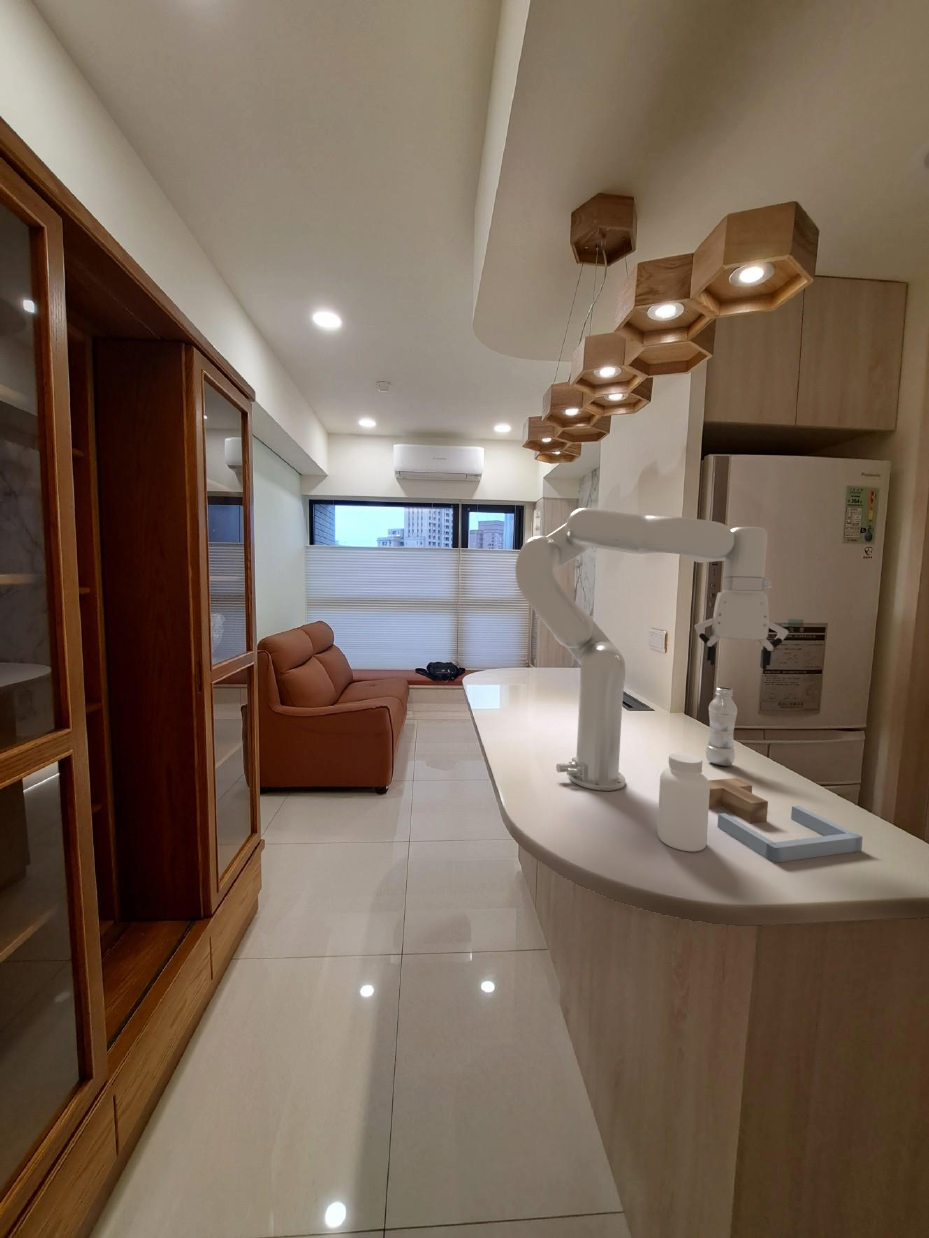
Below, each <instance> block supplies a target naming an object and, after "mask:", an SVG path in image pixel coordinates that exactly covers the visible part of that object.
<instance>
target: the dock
mask: <svg viewBox="0 0 929 1238" xmlns="http://www.w3.org/2000/svg"><path fill="white" fill-rule="evenodd" d="M790 813H791V814H790V819H791V820H792V821H795V822H797V823H799V824H801V825H802V826H805V827H807V828H808V829H810V830H812V831H815V832H816V833H818V834H820V835H822V836H816V837H815V836H814V837H807V838H798V839H797V838H796V839H791V840H784V841H783V840H782V841H775V842H774V841H773V840H770V839H769V838H768V837H766V836H764V835H762V834H761V833H759V832H757V831H755V830H754V829H752V828H751V827H749V826H747V825H746V824H745V823H742V822H741V821H739V820H737V819H735V818H734V817H732V816H731V815H729V814H727V813H726V812H725V813H718V814H717V815H718V816H717V826H716V827H717V828H718V829H720V830H722V831H723V832H725V833H726V834H728V835H729V836H731V837H733V838H734V839H736V840H737V841H739V842H741V843H742V844H744V845H746V846H747V847H748V848H750V849H751V850H753V851H754V852H757V853H758V854H759V855H760V856H762V857H764V858H765V859H767V860H768V861H770V862H771V863H773V864H777V863H784V862H791V861H797V860H798V861H799V860H805V859H813V858H818V857H819V858H820V857H827V856H834V855H841V854H847V853H854V852H862V849H863V846H862V845H863V836H862V835H859V834H858V833H855V832H854V831H852V830H850V829H847V828H845V827H844V826H841V825H839V824H836V823H835V822H832V821H830V820H829V819H827V818H825V817H823V816H821V815H818V814H816V813H814V812H812V811H810V810H807V809H806V808H804V807H801V806H799V805H793V806H791V812H790Z"/></svg>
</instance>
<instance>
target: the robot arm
mask: <svg viewBox="0 0 929 1238" xmlns="http://www.w3.org/2000/svg"><path fill="white" fill-rule="evenodd" d="M767 546H768V531H767V530H766V529H765V528H763V527H760V526H739V527H733V528H730V527H729V526H727V524H724V523H722V522H719V521H712V520H707V519H706V520H705V519H699V518H698V519H697V518H691V517H684V516H683V517H681V516H663V515H651V514H650V515H649V514H638V513H631V512H630V513H629V512H623V511H622V512H621V511H614V510H608V509H599V508H591V507H582V508H581V507H580V508H577V509H575V510H574V511H573V512H571V513H570V515H568V517H567V520H566V522H565V523H564V524H563V525H562V526H560V527H559V528H557V529H556V530H554V531H553V532H551V533H550V534H548V535H547V536H546V535H536V536H532V537H530V538H528V539H527V540H526V541H525V542H524V543H523V545H522V546H521V548H520V550H519V552H518V556H517V558H516V563H515V579H516V584H517V587H518V589H519V591H520V593H521V595H522V597H523V598H524V599H525V601H526V602H527V604H528V605H529V606H530V607H531V608H532V610H533V611H534V613H535V614H536V615H537V616H538V617H539V618H538V619H540V620H541V622H542V623H543V624H544V625H545V627H546V628H547V629H548V631H550V633H551V635H552V636H553V638H554V639H555V640H556V641H557V643H558V644H560V645H561V646H562V647H565V648H566V650H568V652H569V653H570V654H571V655H572V657H573V658H574V659H575V661H577V662H578V664H579V665H580V671H579V672H580V673H579V674H580V677H579V695H578V717H577V719H578V721H577V722H578V723H577V740H576V741H577V742H576V756H575V757H572V758H571V761H569V762H568V763H563V762H562V763H557V764H556V767H555V768H556V769H555V770H556V771H557V773H566V775H567V776H568V777H569V779H570V781H571V782H573V783H574V784H576V785H578V786H581V787H583V788H586V789H591V790H595V791H604V792H605V791H607V792H610V791H616V790H620V789H623V788H624V786H625V785H626V778H625V776H624V775H623V774H622V773H621V772H620V771H619V770H620V752H621V733H622V714H623V713H622V712H623V700H624V688H625V681H626V663H625V659H624V656H623V655H622V653H621V651H620V650H619V649H618V647H617V646H616V645H615V644H614V643H613V642H612V641H611V639H609V637H608V636H607V635H606V634H605V632H603V630H602V629H601V628H600V627H599V626H598V624H597V623H596V621H594V619H593V618H592V617H591V616H590V614H589V613H588V612H587V611H586V610H584V609H583V608H581V607H580V606H579V604H577V603H576V602H575V601H574V599H573V598H572V597H571V596H570V595H569V594H568V593H567V591H566V590H565V588H564V587H563V586H562V584H561V583H559V581H558V580H557V578H556V577H555V573H554V572H555V571H557V570H558V569H560V568H561V567H563V566H564V565H566V564H567V563H569V562H571V561H573V560H574V559H576V558H577V557H579V556H580V555H581V554H584V553H585V552H586V551H588V550H589V549H590V548H596V549H602V550H610V551H616V552H623V553H628V554H638V555H643V554H644V555H645V554H652V553H653V554H655V553H660V554H661V553H663V554H664V553H665V554H675V555H682V556H683V555H684V556H686V557H687V558H689V559H690V560H691V561H693V562H696V563H703V564H704V563H711V562H712V563H713V562H723V573H722V574H723V576H722V577H723V578H722V589H721V591H720V592H717V595H716V597H715V598H716V599H715V603H714V607H713V616H712V618H709V619H706V620H704V621H702V622H700V623H699V622H698V623H697V624H695V625H694V629H695V631H696V634H697V635H698V637H699V639H700V640H701V641H702V642H703V643H704V644H705V645H706V661H708V662H709V666H714V665H715V659H716V647H715V644H716V643H717V642H718V641H719V640H720V639H725V640H736V641H737V640H739V641H752V642H753V641H755V642H759V643H760V644H761V646H762V649H761V651H760V663H759V667H760V668H761V669H762V670H763V671H764V670H765V671H766V670H767V669H768V668H767V667H768V666H769V667H770V665H771V658H772V651H773V650H775V649H776V647H778V646H779V645H781V644H782V642H783V641H784V639H786V637H787V636H788V634H789V630H788V629H786V628H784V627H783V626H780V625H778V624H776V623H774V622H772V621H770V620H769V619H770V618H769V614H770V613H769V610H770V609H769V601H768V594H767V593H764V591H765V590H766V589H772V587H773V582H772V581H768V580H766V578H765V576H766V575H765V571H766V559H767V558H766V557H767ZM710 626H712V627H711V628H712V629H711V632H712V635H711V636H710V637H708V636H707V635H706V634H705V632H704V629H705V628H707V627H710ZM769 629H771V630H773V631H775V632H776V633H777V635H775V636H776V637H774V639H772V640H771V641H769V640H768V639H767V638H768V636H769Z"/></svg>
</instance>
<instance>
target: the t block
mask: <svg viewBox="0 0 929 1238" xmlns="http://www.w3.org/2000/svg"><path fill="white" fill-rule="evenodd" d="M708 780H709V784H710V794H709V809H715V808H723V809H725V810H726V811H727V812H729V813H732V814H733V815H734V816H736V817H738V818H739V819H742V820H743V821H745V822H747V823H748V824H758V823H765V822H767V821H768V820H767V819H768V807H769V806H768V805H769V801H768V800H766V799H764V798H762V797H760V796H758V795H756V794H754V793H753V785H752V784H751V783H748V782H746V781H744V780H742V779H740V778H738V777H734V778H722V779H708Z"/></svg>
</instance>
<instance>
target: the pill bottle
mask: <svg viewBox="0 0 929 1238" xmlns="http://www.w3.org/2000/svg"><path fill="white" fill-rule="evenodd" d="M709 780H710V779H708V777H707V776H706V775H705V774H703V760H702V759H701V757H698V756H697V755H694V754H690V753H684V752H673V753H671V754H669V755H668V767H667V768H664V769H663V770H662V772H661V773H660V778H659V790H658V791H659V793H658V794H659V796H658V811H657V836H658V839H659V840H660V841H661V842H662V843H664V844H665V845H667V846H669V847H671V848H672V849H673V848H674V849H676V850H679V851H685V852H699V851H703V850H704V849H705V848H706V846H707V841H708V828H709V827H708V826H709V811H710V810H709V809H710V808H709V794H710V784H709Z"/></svg>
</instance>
